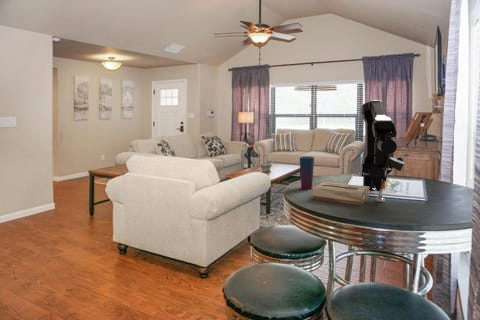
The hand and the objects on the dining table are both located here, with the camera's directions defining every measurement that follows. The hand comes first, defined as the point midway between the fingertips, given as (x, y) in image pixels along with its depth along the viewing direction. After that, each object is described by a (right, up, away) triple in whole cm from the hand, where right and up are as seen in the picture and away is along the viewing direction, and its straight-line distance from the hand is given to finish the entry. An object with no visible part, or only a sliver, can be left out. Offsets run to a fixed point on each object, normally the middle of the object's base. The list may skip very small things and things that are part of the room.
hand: (380, 189), depth 147 cm
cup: (-26, -2, +25) cm, 36 cm away
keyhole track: (-15, -5, +6) cm, 16 cm away
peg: (0, -5, +1) cm, 5 cm away
